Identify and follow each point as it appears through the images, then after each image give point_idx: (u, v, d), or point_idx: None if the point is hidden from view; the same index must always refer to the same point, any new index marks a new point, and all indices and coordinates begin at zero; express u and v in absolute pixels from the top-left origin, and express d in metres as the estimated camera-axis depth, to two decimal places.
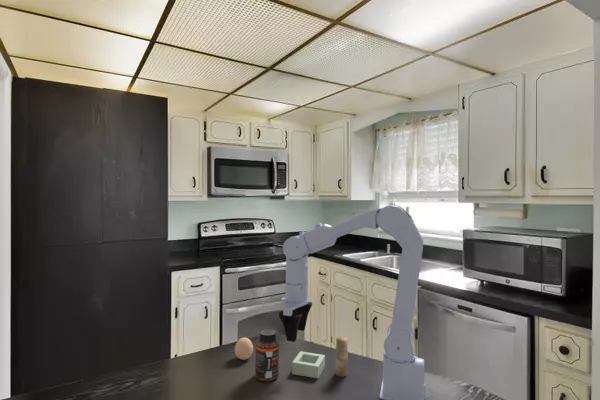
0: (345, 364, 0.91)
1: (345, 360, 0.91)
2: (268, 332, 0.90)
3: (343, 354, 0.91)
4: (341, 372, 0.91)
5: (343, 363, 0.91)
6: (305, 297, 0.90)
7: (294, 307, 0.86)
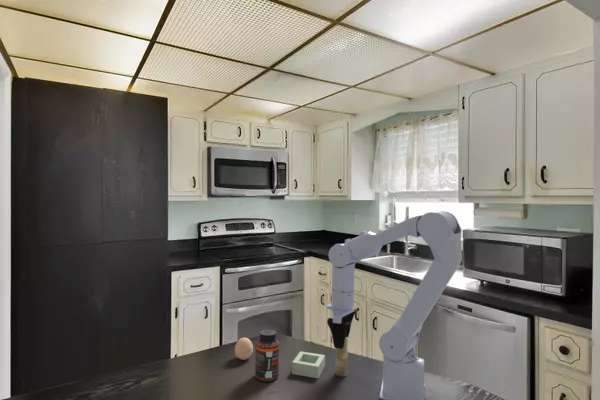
0: (345, 364, 0.91)
1: (345, 360, 0.91)
2: (268, 332, 0.90)
3: (343, 354, 0.91)
4: (341, 372, 0.91)
5: (343, 363, 0.91)
6: (352, 304, 0.90)
7: (343, 315, 0.86)
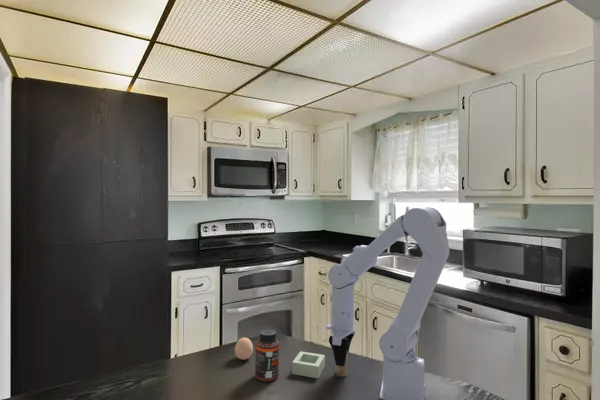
0: (345, 364, 0.91)
1: None
2: (268, 332, 0.90)
3: None
4: (341, 372, 0.91)
5: None
6: (351, 325, 0.90)
7: (343, 336, 0.86)
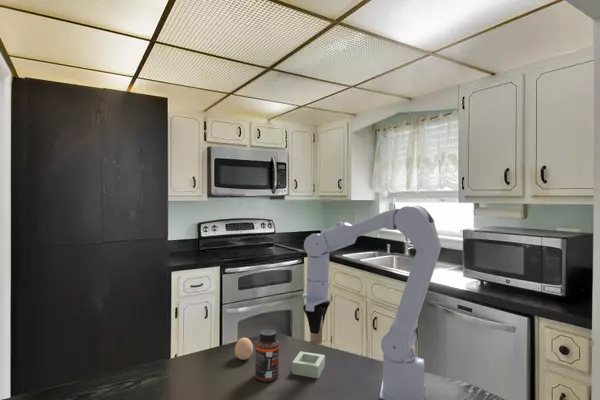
0: (320, 332, 0.92)
1: (320, 328, 0.92)
2: (268, 332, 0.90)
3: None
4: (316, 340, 0.92)
5: None
6: (326, 293, 0.92)
7: (316, 303, 0.88)
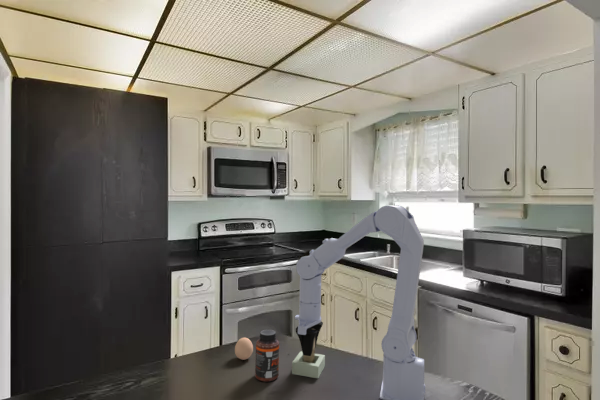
0: (312, 354, 0.92)
1: (312, 350, 0.92)
2: (268, 332, 0.90)
3: None
4: (308, 362, 0.92)
5: None
6: (318, 315, 0.92)
7: (308, 326, 0.88)
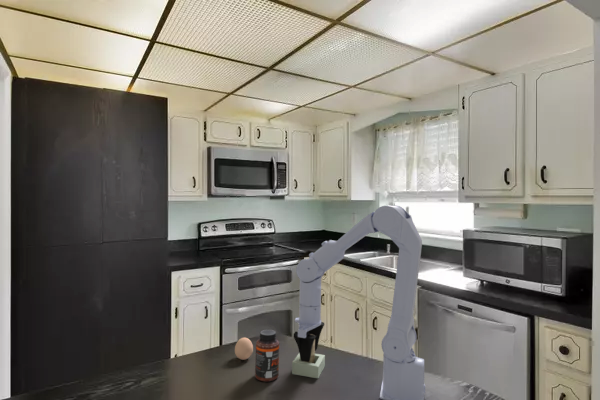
0: (312, 360, 0.92)
1: (312, 356, 0.92)
2: (268, 332, 0.90)
3: None
4: None
5: (310, 359, 0.92)
6: (318, 318, 0.92)
7: (308, 329, 0.88)
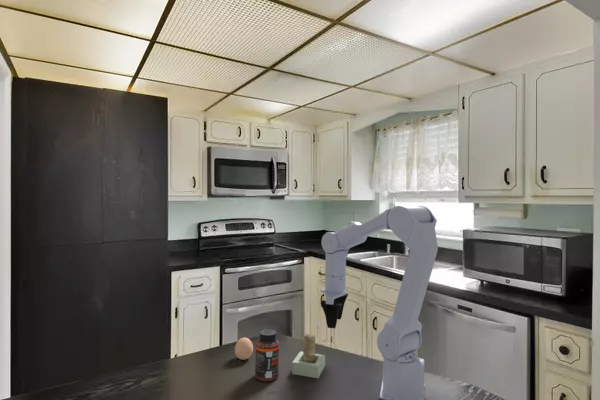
0: (312, 360, 0.92)
1: (312, 357, 0.92)
2: (268, 332, 0.90)
3: (310, 351, 0.92)
4: None
5: (310, 359, 0.92)
6: (343, 288, 0.98)
7: (335, 297, 0.94)
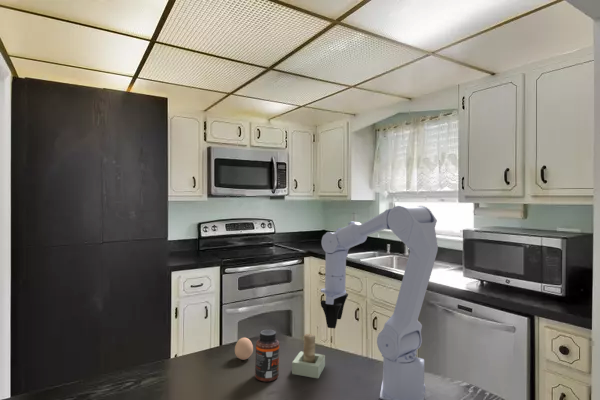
0: (312, 360, 0.92)
1: (312, 357, 0.92)
2: (268, 332, 0.90)
3: (310, 351, 0.92)
4: None
5: (310, 359, 0.92)
6: (343, 288, 0.98)
7: (335, 297, 0.94)
